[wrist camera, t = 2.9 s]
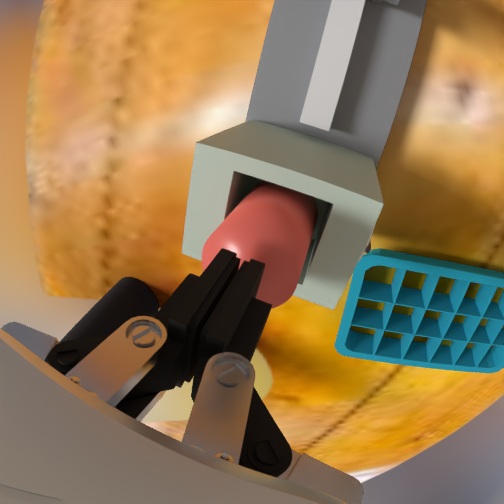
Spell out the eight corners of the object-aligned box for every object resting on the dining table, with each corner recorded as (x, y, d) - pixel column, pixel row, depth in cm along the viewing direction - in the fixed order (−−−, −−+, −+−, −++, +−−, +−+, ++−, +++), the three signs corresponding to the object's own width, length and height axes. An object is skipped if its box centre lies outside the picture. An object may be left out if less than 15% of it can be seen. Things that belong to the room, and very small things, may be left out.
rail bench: (436, -55, 10) (472, -116, 2) (351, 229, 25) (345, 313, 16) (305, -90, 12) (271, -162, 3) (236, 189, 26) (174, 250, 18)
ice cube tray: (358, 234, 25) (358, 252, 23) (540, 271, 20) (551, 289, 18) (335, 332, 31) (332, 353, 29) (494, 354, 26) (499, 373, 24)
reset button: (327, 190, 16) (312, 246, 11) (305, 252, 18) (282, 322, 13) (255, 167, 16) (208, 209, 12) (240, 229, 19) (196, 289, 14)
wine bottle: (148, 277, 35) (-21, 484, 11) (165, 320, 38) (28, 515, 14) (111, 275, 37) (-46, 448, 13) (128, 314, 40) (-3, 482, 16)
